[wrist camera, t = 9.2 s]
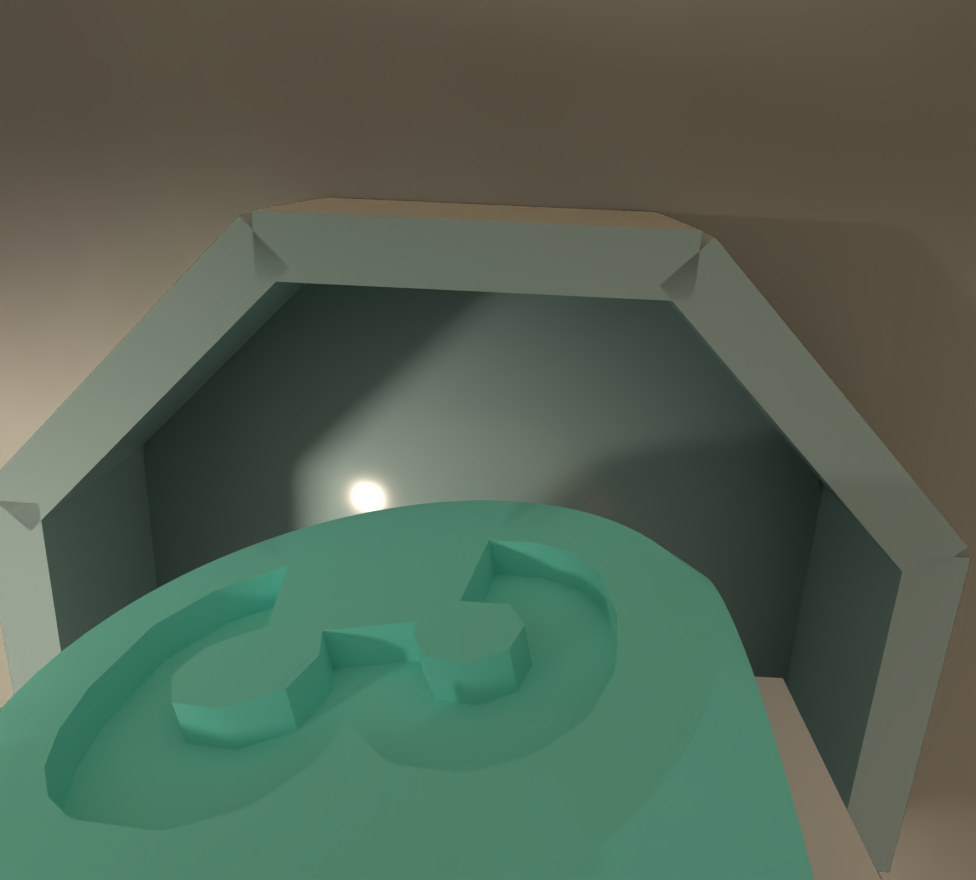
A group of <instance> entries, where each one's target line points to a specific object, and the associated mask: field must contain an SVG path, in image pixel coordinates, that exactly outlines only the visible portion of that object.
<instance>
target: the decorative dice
mask: <svg viewBox="0 0 976 880" xmlns="http://www.w3.org/2000/svg"><path fill="white" fill-rule="evenodd" d="M0 880H814V876H813V873H812V869H811V865H810V861H809V857H808V854H807V850H806V846H805V842H804V838H803V835H802V831H801V827H800V824H799V820H798V816H797V813H796V809H795V806H794V802H793V799H792V795H791V791H790V788H789V784H788V781H787V777H786V774H785V771H784V767H783V764H782V761H781V757H780V754H779V751H778V747H777V744H776V741H775V737H774V734H773V731H772V728H771V725H770V722H769V719H768V715H767V712H766V709H765V706H764V703H763V700H762V697H761V694H760V691H759V688H758V685H757V682H756V680H755V677H754V674H753V671H752V668H751V665H750V663H749V660H748V657H747V655H746V652H745V649H744V647H743V644H742V641H741V639H740V637H739V634H738V632H737V629H736V627H735V625H734V622H733V620H732V618H731V616H730V613H729V611H728V609H727V607H726V605H725V603H724V601H723V599H722V597H721V596H720V594H719V592H718V591H717V589H716V587H715V586H714V584H713V583H712V582H711V581H710V580H709V579H708V578H707V577H706V576H704V575H703V574H701V573H700V572H698V571H697V570H695V569H694V568H692V567H691V566H689V565H688V564H687V563H685V562H684V561H682V560H681V559H679V558H678V557H676V556H675V555H673V554H672V553H670V552H669V551H667V550H666V549H664V548H663V547H661V546H660V545H658V544H657V543H655V542H654V541H652V540H651V539H649V538H647V537H646V536H644V535H642V534H641V533H639V532H637V531H635V530H633V529H631V528H628V527H626V526H624V525H621V524H619V523H617V522H614V521H611V520H609V519H606V518H603V517H600V516H597V515H593V514H590V513H586V512H582V511H578V510H574V509H569V508H564V507H559V506H553V505H546V504H538V503H530V502H517V501H497V500H470V501H449V502H435V503H425V504H416V505H409V506H401V507H395V508H389V509H382V510H377V511H372V512H366V513H361V514H357V515H352V516H348V517H343V518H339V519H335V520H331V521H327V522H323V523H320V524H316V525H312V526H309V527H305V528H302V529H299V530H295V531H292V532H289V533H286V534H283V535H280V536H277V537H274V538H271V539H268V540H265V541H262V542H260V543H257V544H254V545H251V546H249V547H246V548H243V549H241V550H238V551H236V552H233V553H231V554H228V555H226V556H224V557H221V558H219V559H217V560H214V561H212V562H210V563H208V564H205V565H203V566H201V567H199V568H197V569H194V570H192V571H190V572H188V573H186V574H184V575H182V576H180V577H178V578H176V579H174V580H172V581H170V582H168V583H166V584H164V585H163V586H161V587H159V588H157V589H155V590H153V591H152V592H150V593H148V594H146V595H144V596H143V597H141V598H139V599H138V600H136V601H134V602H132V603H131V604H129V605H127V606H126V607H124V608H123V609H121V610H119V611H118V612H116V613H115V614H113V615H112V616H110V617H109V618H107V619H106V620H104V621H103V622H101V623H100V624H98V625H97V626H95V627H94V628H92V629H91V630H89V631H88V632H87V633H85V634H84V635H83V636H81V637H80V638H79V639H77V640H76V641H75V642H73V643H72V644H71V645H69V646H68V647H67V648H65V649H64V650H63V651H61V652H60V653H59V654H58V655H57V656H56V657H54V658H53V659H52V660H51V661H50V662H48V663H47V664H46V665H45V666H44V667H43V668H41V669H40V670H39V671H38V672H37V673H36V674H35V675H34V676H33V677H32V678H31V679H30V680H29V681H27V682H26V683H25V684H24V685H23V686H22V687H21V688H20V689H19V690H18V691H17V692H16V693H15V694H14V695H13V696H12V697H11V698H10V700H9V701H8V702H7V703H6V704H5V705H4V706H3V707H2V709H1V710H0Z"/></svg>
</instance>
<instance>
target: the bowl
mask: <svg viewBox="0 0 976 880" xmlns="http://www.w3.org/2000/svg"><path fill="white" fill-rule="evenodd" d="M470 500H497V501H517V502H530V503H538V504H546V505H553V506H559V507H564V508H569V509H574V510H578V511H582V512H586V513H590V514H593V515H597V516H600V517H603V518H606V519H609V520H611V521H614V522H617V523H619V524H621V525H624V526H626V527H628V528H631V529H633V530H635V531H637V532H639V533H641V534H642V535H644V536H646V537H647V538H649V539H651V540H652V541H654V542H655V543H657V544H658V545H660V546H661V547H663V548H664V549H666V550H667V551H669V552H670V553H672V554H673V555H675V556H676V557H678V558H679V559H681V560H682V561H684V562H685V563H687V564H688V565H689V566H691V567H692V568H694V569H695V570H697V571H698V572H700V573H701V574H703V575H704V576H706V577H707V578H708V579H709V580H710V581H711V582H712V583H713V584H714V586H715V587H716V589H717V591H718V592H719V594H720V596H721V597H722V599H723V601H724V603H725V605H726V607H727V609H728V611H729V613H730V616H731V618H732V620H733V622H734V625H735V627H736V629H737V632H738V634H739V637H740V639H741V641H742V644H743V647H744V649H745V652H746V655H747V657H748V660H749V663H750V665H751V668H752V671H753V674H754V676H755V677H771V678H783V680H784V682H785V684H786V686H787V688H788V690H789V692H790V694H791V696H792V698H793V700H794V702H795V704H796V707H797V709H798V711H799V713H800V715H801V717H802V719H803V721H804V723H805V725H806V727H807V729H808V731H809V733H810V735H811V737H812V739H813V741H814V744H815V746H816V748H817V750H818V752H819V754H820V756H821V758H822V760H823V762H824V764H825V766H826V768H827V770H828V772H829V774H830V776H831V778H832V781H833V783H834V785H835V787H836V789H837V791H838V793H839V795H840V797H841V799H842V801H843V803H844V805H845V807H846V809H847V811H848V813H849V816H850V818H851V820H852V822H853V824H854V826H855V828H856V830H857V832H858V834H859V836H860V838H861V840H862V842H863V844H864V846H865V848H866V850H867V853H868V855H869V857H870V859H871V861H872V863H873V865H874V867H875V869H876V871H877V873H878V875H879V877H880V879H881V880H882V878H881V876H880V874H879V872H878V871H880V872H889V871H890V867H891V864H892V860H893V856H894V852H895V848H896V844H897V841H898V837H899V833H900V829H901V825H902V821H903V817H904V814H905V810H906V806H907V802H908V798H909V794H910V791H911V787H912V783H913V779H914V775H915V771H916V768H917V764H918V760H919V756H920V752H921V748H922V744H923V741H924V737H925V733H926V729H927V725H928V721H929V718H930V714H931V710H932V706H933V702H934V698H935V694H936V691H937V687H938V683H939V679H940V675H941V671H942V668H943V664H944V660H945V656H946V652H947V648H948V645H949V641H950V637H951V633H952V629H953V625H954V621H955V618H956V614H957V610H958V606H959V602H960V598H961V595H962V591H963V587H964V583H965V579H966V575H967V572H968V568H969V564H970V560H971V558H970V557H969V556H968V555H967V554H966V553H965V552H963V550H965V549H966V548H968V546H967V545H966V543H965V542H964V541H963V540H962V539H961V537H960V536H959V535H958V534H957V532H956V531H955V530H954V529H953V528H952V526H951V525H950V524H949V523H948V521H947V520H946V519H945V518H944V517H943V515H942V514H941V513H940V512H939V510H938V509H937V508H936V507H935V506H934V504H933V503H932V502H931V501H930V499H929V498H928V497H927V496H926V495H925V493H924V492H923V491H922V490H921V488H920V487H919V486H918V485H917V484H916V482H915V481H914V480H913V479H912V477H911V476H910V475H909V474H908V473H907V471H906V470H905V469H904V468H903V466H902V465H901V464H900V463H899V462H898V460H897V459H896V458H895V457H894V455H893V454H892V453H891V452H890V451H889V449H888V448H887V447H886V446H885V444H884V443H883V442H882V441H881V440H880V438H879V437H878V436H877V435H876V433H875V432H874V431H873V430H872V429H871V427H870V426H869V425H868V424H867V422H866V421H865V420H864V419H863V418H862V416H861V415H860V414H859V413H858V411H857V410H856V409H855V408H854V407H853V405H852V404H851V403H850V402H849V400H848V399H847V398H846V397H845V395H844V394H843V393H842V392H841V391H840V389H839V388H838V387H837V386H836V384H835V383H834V382H833V381H832V380H831V378H830V377H829V376H828V375H827V373H826V372H825V371H824V370H823V369H822V367H821V366H820V365H819V364H818V362H817V361H816V360H815V359H814V358H813V356H812V355H811V354H810V353H809V351H808V350H807V349H806V348H805V347H804V345H803V344H802V343H801V342H800V340H799V339H798V338H797V337H796V336H795V334H794V333H793V332H792V331H791V329H790V328H789V327H788V326H787V325H786V323H785V322H784V321H783V320H782V318H781V317H780V316H779V315H778V314H777V312H776V311H775V310H774V309H773V307H772V306H771V305H770V304H769V303H768V301H767V300H766V299H765V298H764V296H763V295H762V294H761V293H760V292H759V290H758V289H757V288H756V287H755V285H754V284H753V283H752V282H751V281H750V279H749V278H748V277H747V276H746V274H745V273H744V272H743V271H742V270H741V268H740V267H739V266H738V265H737V263H736V262H735V261H734V260H733V259H732V257H731V256H730V255H729V254H728V252H727V251H726V250H725V249H724V247H723V246H722V245H721V244H720V243H719V241H718V240H717V239H716V238H715V237H713V236H711V235H708V234H706V233H703V232H702V230H700V229H697V228H695V227H692V226H690V225H687V224H685V223H682V222H680V221H677V220H675V219H672V218H670V217H667V216H665V215H662V214H659V213H657V212H643V211H620V210H598V209H576V208H553V207H531V206H508V205H486V204H464V203H441V202H419V201H397V200H374V199H352V198H329V197H326V198H320V199H314V200H308V201H302V202H297V203H291V204H285V205H279V206H273V207H267V208H261V209H255V210H252V213H250V214H245V215H239V216H238V217H237V218H236V219H235V220H234V221H233V222H232V223H231V224H230V226H229V227H228V228H227V229H226V230H225V231H224V232H223V233H222V234H221V235H220V236H219V237H218V238H217V239H216V240H215V242H214V243H213V244H212V245H211V246H210V247H209V248H208V249H207V250H206V251H205V252H204V253H203V254H202V255H201V256H200V258H199V259H198V260H197V261H196V262H195V263H194V264H193V265H192V266H191V267H190V268H189V269H188V270H187V271H186V272H185V274H184V275H183V276H182V277H181V278H180V279H179V280H178V281H177V282H176V283H175V284H174V285H173V286H172V287H171V288H170V290H169V291H168V292H167V293H166V294H165V295H164V296H163V297H162V298H161V299H160V300H159V301H158V302H157V303H156V304H155V306H154V307H153V308H152V309H151V310H150V311H149V312H148V313H147V314H146V315H145V316H144V317H143V318H142V319H141V320H140V322H139V323H138V324H137V325H136V326H135V327H134V328H133V329H132V330H131V331H130V332H129V333H128V334H127V335H126V336H125V338H124V339H123V340H122V341H121V342H120V343H119V344H118V345H117V346H116V347H115V348H114V349H113V350H112V351H111V352H110V354H109V355H108V356H107V357H106V358H105V359H104V360H103V361H102V362H101V363H100V364H99V365H98V366H97V367H96V368H95V370H94V371H93V372H92V373H91V374H90V375H89V376H88V377H87V378H86V379H85V380H84V381H83V382H82V383H81V384H80V386H79V387H78V388H77V389H76V390H75V391H74V392H73V393H72V394H71V395H70V396H69V397H68V398H67V399H66V400H65V402H64V403H63V404H62V405H61V406H60V407H59V408H58V409H57V410H56V411H55V412H54V413H53V414H52V415H51V416H50V418H49V419H48V420H47V421H46V422H45V423H44V424H43V425H42V426H41V427H40V428H39V429H38V430H37V431H36V432H35V433H34V435H33V436H32V437H31V438H30V439H29V440H28V441H27V442H26V443H25V444H24V445H23V446H22V447H21V448H20V449H19V451H18V452H17V453H16V454H15V455H14V456H13V457H12V458H11V459H10V460H9V461H8V462H7V463H6V464H5V465H4V467H3V468H2V469H1V470H0V621H1V627H2V632H3V638H4V644H5V649H6V655H7V661H8V666H9V672H10V678H11V683H12V689H13V695H14V694H15V693H16V692H17V691H18V690H19V689H20V688H21V687H22V686H23V685H24V684H25V683H26V682H27V681H29V680H30V679H31V678H32V677H33V676H34V675H35V674H36V673H37V672H38V671H39V670H40V669H41V668H43V667H44V666H45V665H46V664H47V663H48V662H50V661H51V660H52V659H53V658H54V657H56V656H57V655H58V654H59V653H60V652H61V651H63V650H64V649H65V648H67V647H68V646H69V645H71V644H72V643H73V642H75V641H76V640H77V639H79V638H80V637H81V636H83V635H84V634H85V633H87V632H88V631H89V630H91V629H92V628H94V627H95V626H97V625H98V624H100V623H101V622H103V621H104V620H106V619H107V618H109V617H110V616H112V615H113V614H115V613H116V612H118V611H119V610H121V609H123V608H124V607H126V606H127V605H129V604H131V603H132V602H134V601H136V600H138V599H139V598H141V597H143V596H144V595H146V594H148V593H150V592H152V591H153V590H155V589H157V588H159V587H161V586H163V585H164V584H166V583H168V582H170V581H172V580H174V579H176V578H178V577H180V576H182V575H184V574H186V573H188V572H190V571H192V570H194V569H197V568H199V567H201V566H203V565H205V564H208V563H210V562H212V561H214V560H217V559H219V558H221V557H224V556H226V555H228V554H231V553H233V552H236V551H238V550H241V549H243V548H246V547H249V546H251V545H254V544H257V543H260V542H262V541H265V540H268V539H271V538H274V537H277V536H280V535H283V534H286V533H289V532H292V531H295V530H299V529H302V528H305V527H309V526H312V525H316V524H320V523H323V522H327V521H331V520H335V519H339V518H343V517H348V516H352V515H357V514H361V513H366V512H372V511H377V510H382V509H389V508H395V507H401V506H409V505H416V504H425V503H435V502H449V501H470Z"/></svg>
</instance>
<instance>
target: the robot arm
mask: <svg viewBox="0 0 976 880" xmlns="http://www.w3.org/2000/svg"><path fill="white" fill-rule="evenodd" d="M754 677H755V676H754ZM755 680H756V682H757V685H758V688H759V691H760V694H761V697H762V700H763V703H764V706H765V709H766V712H767V715H768V719H769V722H770V725H771V728H772V731H773V734H774V737H775V741H776V744H777V747H778V751H779V754H780V757H781V761H782V764H783V767H784V771H785V774H786V777H787V781H788V784H789V788H790V791H791V795H792V799H793V802H794V806H795V809H796V813H797V816H798V820H799V824H800V827H801V831H802V835H803V838H804V842H805V846H806V850H807V854H808V857H809V861H810V865H811V869H812V873H813V876H814V880H881V879H880V877H879V875H878V873H877V871H876V869H875V867H874V865H873V863H872V861H871V859H870V857H869V855H868V853H867V850H866V848H865V846H864V844H863V842H862V840H861V838H860V836H859V834H858V832H857V830H856V828H855V826H854V824H853V822H852V820H851V818H850V816H849V813H848V811H847V809H846V807H845V805H844V803H843V801H842V799H841V797H840V795H839V793H838V791H837V789H836V787H835V785H834V783H833V781H832V778H831V776H830V774H829V772H828V770H827V768H826V766H825V764H824V762H823V760H822V758H821V756H820V754H819V752H818V750H817V748H816V746H815V744H814V741H813V739H812V737H811V735H810V733H809V731H808V729H807V727H806V725H805V723H804V721H803V719H802V717H801V715H800V713H799V711H798V709H797V707H796V704H795V702H794V700H793V698H792V696H791V694H790V692H789V690H788V688H787V686H786V684H785V682H784V680H783V678H771V677H755Z"/></svg>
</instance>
